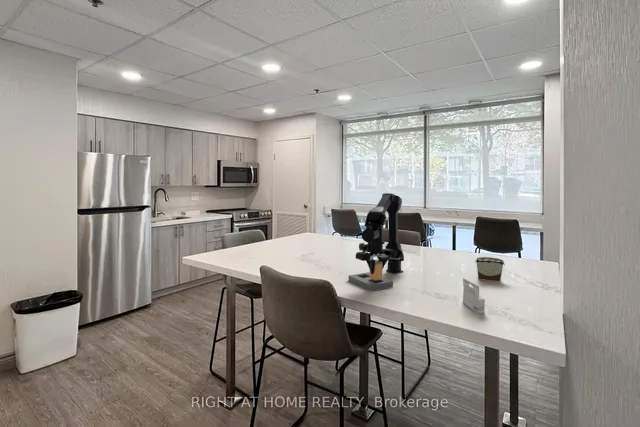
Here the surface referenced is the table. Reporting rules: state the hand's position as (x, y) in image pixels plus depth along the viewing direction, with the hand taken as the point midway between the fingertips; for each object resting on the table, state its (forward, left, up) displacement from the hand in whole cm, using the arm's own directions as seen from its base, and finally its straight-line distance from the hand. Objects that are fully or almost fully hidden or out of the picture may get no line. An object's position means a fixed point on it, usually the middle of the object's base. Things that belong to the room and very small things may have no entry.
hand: (376, 273), depth 148 cm
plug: (0, 0, -2) cm, 2 cm away
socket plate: (0, -4, -6) cm, 7 cm away
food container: (-54, +18, -6) cm, 57 cm away
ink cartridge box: (-15, +39, -6) cm, 42 cm away
